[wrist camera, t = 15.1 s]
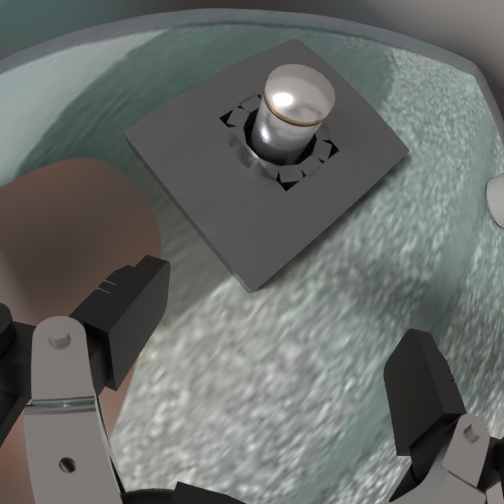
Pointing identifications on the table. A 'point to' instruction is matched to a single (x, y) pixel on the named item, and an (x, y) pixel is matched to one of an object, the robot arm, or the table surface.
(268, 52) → the plate
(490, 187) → the can
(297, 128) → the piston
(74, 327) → the robot arm
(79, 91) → the table surface
